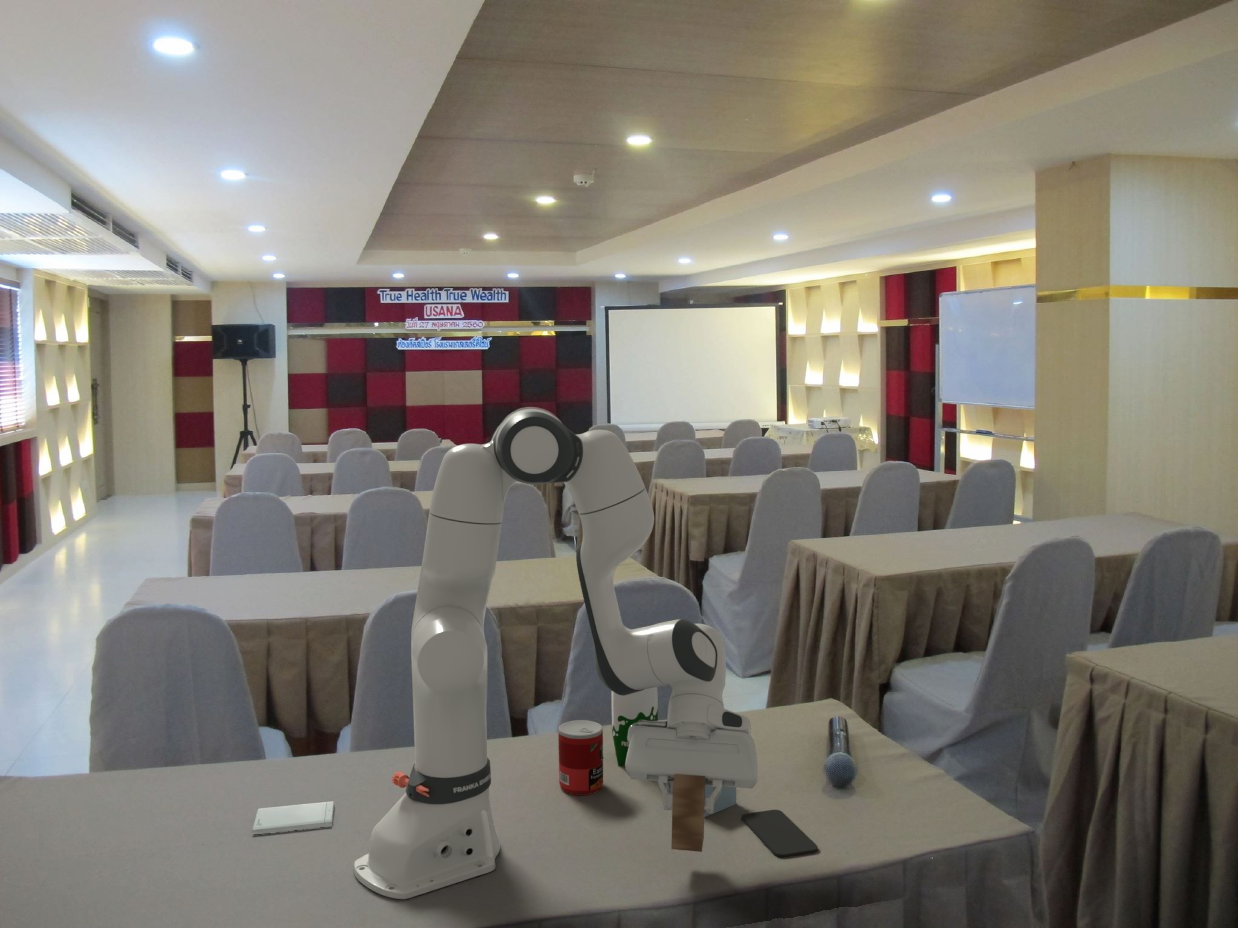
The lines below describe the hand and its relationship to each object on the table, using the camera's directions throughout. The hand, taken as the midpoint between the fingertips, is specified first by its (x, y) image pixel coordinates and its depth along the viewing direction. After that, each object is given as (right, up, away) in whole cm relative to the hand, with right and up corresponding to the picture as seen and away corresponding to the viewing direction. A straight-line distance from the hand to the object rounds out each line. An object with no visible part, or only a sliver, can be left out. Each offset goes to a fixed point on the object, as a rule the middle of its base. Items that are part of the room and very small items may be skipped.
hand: (688, 810), depth 151 cm
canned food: (-17, -6, +31) cm, 36 cm away
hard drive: (-65, -9, +19) cm, 68 cm away
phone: (+15, -8, +12) cm, 21 cm away
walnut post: (0, -5, +1) cm, 5 cm away
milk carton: (-7, -5, +43) cm, 44 cm away
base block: (+4, -7, +24) cm, 25 cm away
